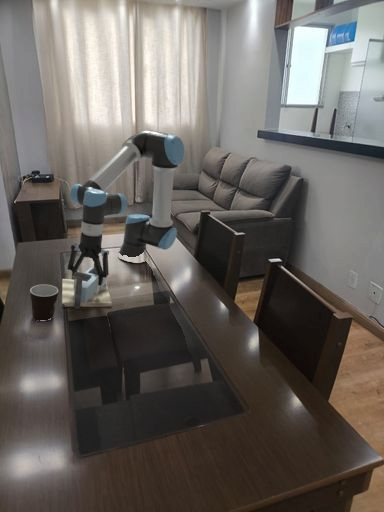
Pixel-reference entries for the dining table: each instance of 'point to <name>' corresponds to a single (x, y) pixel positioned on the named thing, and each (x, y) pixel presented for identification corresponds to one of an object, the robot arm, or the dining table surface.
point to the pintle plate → (68, 292)
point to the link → (89, 286)
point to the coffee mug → (43, 301)
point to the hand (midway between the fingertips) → (86, 289)
